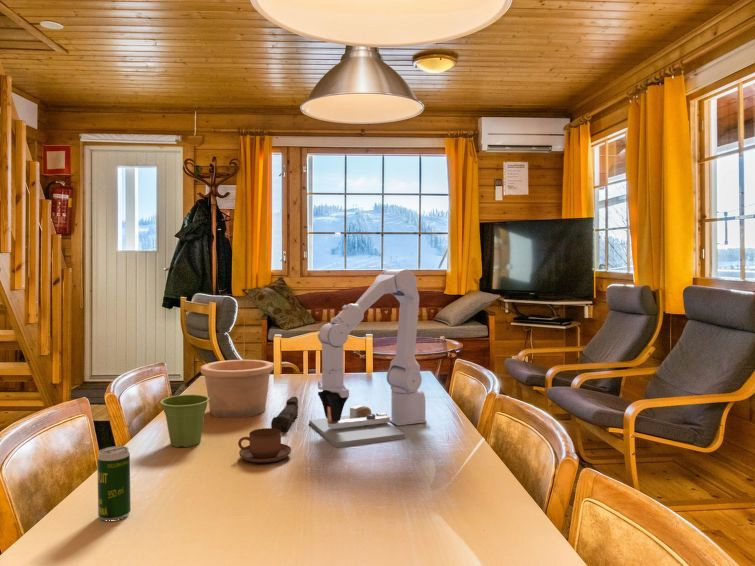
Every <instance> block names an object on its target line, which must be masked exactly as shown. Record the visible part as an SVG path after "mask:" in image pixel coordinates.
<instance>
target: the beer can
mask: <svg viewBox="0 0 755 566" xmlns="http://www.w3.org/2000/svg"><path fill="white" fill-rule="evenodd" d="M130 455H131V454H130V451H129V447H128V446H122V445H117V446H116V445H115V446H109V447H105V448H102V449H99V451H98V455H97V460H96V461H97V463H96V464H97V513H98V518H99V520H101V519H102V520H107V521H109V520H110V521H111V520H118V519H122V518H124V517H126V516H127V517H129V515H130V512H131V511H132V510H131V456H130ZM127 517H126V518H127ZM124 519H125V518H124ZM102 520H101V521H102ZM122 520H123V519H122ZM118 521H119V520H118Z"/></svg>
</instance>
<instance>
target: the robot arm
mask: <svg viewBox="0 0 755 566" xmlns="http://www.w3.org/2000/svg"><path fill="white" fill-rule="evenodd" d="M417 281H418V278H417V276H416V275H415V274H414V273H413V272H412V271H411V270H410V269H405V268H404V269H391V268H386V269H384V270H383V271H381V273H380V274H378V275H377V276H376V278H375V279H374V282H373V283H372V284H371V285H370V286H369V287H368V288H367V289H366V291H364V293H363V294H362V295H361V296H360V297H359V298H358V299H357V301H356V302H355V303H348V304H344V305H343V306H342V307H341V309H342V310H341V311H340V312H339V313H338V314H337V315H336V316H335V317H332V318H331V319H330V323H329V322H328V323H325V324H323V325H322V326H321V327H320V329H319V332H318V333H317V339H318V340H319V342H320V344H321V378H322V379H321V380H318V381H317V389H319V390H320V391H318V392H317V395H318V397H319V399H320V400H321V404H322V406H323V411H324V415H325V418H327V406H328V405H330V411H331V419H332V421H333V422H334V421H340V418H341V416H342V414H343V410H344V406H345V404H346V402H347V401H348V398H350V389H348V388H347V387H346V385H345V384H344V383H345V382H344V376H345V374H344V372H345V371H344V344H346V343H347V342H348V339H349V334H350V333H351V332H352V331H353V330H354V329H355V328H356V327H357V326H358V325H359V324H360V323H361V322H362V321H363V320H364V317H365V313H366V311H367V310H368V309H369V308H370V307H371V306H372V305H373V304H375V303H377V301H378V300H379V299H380V298H381V297H382V296H384V295H388V294H391V295H393V297H395V299H396V300H397V301H398V302H399V309H398V310H399V312H398V321H397V322H398V324H397V333H396V335H397V337H396V348H395V349H396V350H395V356H394V357H393V358H392V359H391V361H390V365H389V368H388V370H387V373H386V381H387V384H388V385H390V390H391V393H390V394H391V410H390V411H391V414H390V415H391V416H389V417H390V422H391V423H392V424H393V425H395V426H405V425H413V424H423V423H427V422H428V421H427V420H426V395H425V393H424V391H423V389H419V388H420V387H421V386H422V380H423V379H422V375H421V365H420V364H419V361H417V359H416V358H415V356H416V344H417V332H418V320H419V308H420V294H419V290H418V287H417V286H418V285H417V283H418V282H417ZM390 422H389V423H390Z"/></svg>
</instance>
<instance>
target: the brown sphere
mask: <svg viewBox="0 0 755 566" xmlns="http://www.w3.org/2000/svg"><path fill="white" fill-rule="evenodd" d="M367 414H372V410H371V408H370V407H368V406H365V407H362V408H361V409H360V410H359V416H360V417H361V418H363V417H367Z"/></svg>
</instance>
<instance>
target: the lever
mask: <svg viewBox="0 0 755 566" xmlns="http://www.w3.org/2000/svg"><path fill="white" fill-rule="evenodd" d="M390 417H391V416H388V413H385V412H379V413H376V414H375V413H371V414H367V417H363V418H354V419H345V420H340V421H334V422H333V421H332V419H331V411H330V405H328V406H327V423H328V427H329V428H330V429H337V428H346V427H355V426H363V425H372V424H380V423H388V424H389V423H390Z"/></svg>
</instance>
